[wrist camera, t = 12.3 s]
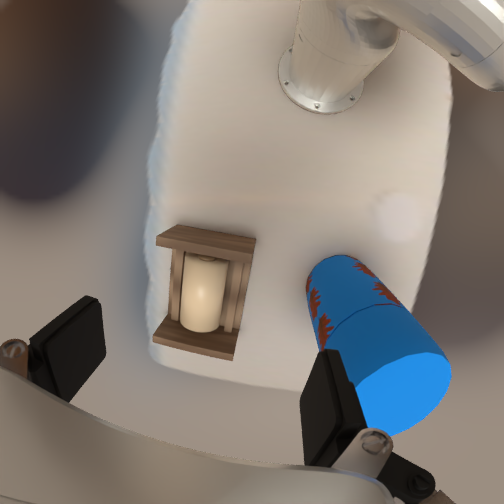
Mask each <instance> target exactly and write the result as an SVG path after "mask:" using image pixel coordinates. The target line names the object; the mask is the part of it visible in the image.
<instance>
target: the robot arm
mask: <svg viewBox="0 0 504 504" xmlns="http://www.w3.org/2000/svg"><path fill="white" fill-rule="evenodd" d="M400 29H402V30H404V31H407V32H409V33H410V34H412V35H413V36H415V37H416V38H418V39H419V40H421V41H422V42H423V43H425V44H426V45H428V46H429V47H430V48H432V49H433V50H434V51H436V52H437V53H438V54H440V55H441V56H442V57H443V58H445V59H446V60H447V61H448V62H450V63H451V64H452V65H453V66H454V67H456V68H457V69H458V70H459V71H460V72H462V73H463V74H464V75H465V76H466V77H468V78H469V79H470V80H471V81H473V82H474V83H476V84H477V85H479V86H481V87H482V88H485V89H487V90H490V91H496V92H502V91H504V0H301V1H300V8H299V14H298V20H297V26H296V32H295V38H294V44H293V45H292V46H291V47H289V48H288V49H287V50H286V51H285V52H284V54H283V55H282V57H281V59H280V62H279V67H278V77H279V81H280V84H281V86H282V88H283V90H284V92H285V93H286V94H287V96H288V97H289V98H290V99H291V100H292V101H293V102H294V103H296V104H297V105H299V106H300V107H302V108H304V109H306V110H308V111H311V112H314V113H318V114H335V113H339V112H342V111H345V110H347V109H348V108H350V107H351V106H353V105H354V104H355V103H356V102H357V101H358V99H359V98H360V96H361V94H362V91H363V87H364V78H365V77H366V76H367V75H368V74H369V73H371V72H372V71H373V70H374V69H375V68H376V67H377V66H378V65H379V64H380V63H381V62H382V61H383V60H384V59H385V58H386V57H387V56H388V55H389V54H390V53H391V52H392V51H393V49H394V48H395V46H396V44H397V42H398V39H399V34H400ZM285 83H288V85H285ZM350 98H351V99H352V101H351V100H350ZM316 106H317V107H318V109H316V108H315V107H316ZM29 340H30V344H29V345H27V344H26V342H24V341H23V340H20V339H10V340H7V341H6V342H4V343H3V344H2V345H1V346H0V504H456V503H454V502H453V501H452V500H451V499H450V498H449V497H448V496H446V494H445V493H443V492H442V491H441V490H439V491H438V492H437V491H436V490H435V480H434V477H433V476H432V474H431V473H429V472H428V471H426V470H425V469H422V468H421V467H419V466H417V465H415V464H413V463H411V462H409V461H408V460H406V459H404V458H402V457H401V456H399V455H397V454H395V453H394V452H392V450H393V441H392V439H391V437H390V436H389V435H388V434H387V433H386V432H384V431H383V430H380V429H378V428H368V426H367V423H366V420H365V417H364V414H363V410H362V407H361V404H360V401H359V398H358V395H357V392H356V389H355V386H354V384H353V382H351V381H349V379H348V376H347V373H346V370H345V367H344V364H343V361H342V358H341V355H340V352H339V350H335V349H326V348H325V349H324V350H323V352H322V351H319V353H318V355H317V357H316V360H315V363H314V365H313V368H312V370H311V373H310V375H309V378H308V380H307V383H306V385H305V388H304V390H303V392H302V395H301V397H300V414H301V425H302V438H303V450H304V464H305V466H303V465H289V464H277V463H268V462H260V461H252V460H244V459H238V458H232V457H226V456H220V455H216V454H211V453H206V452H201V451H197V450H193V449H189V448H185V447H181V446H178V445H174V444H170V443H167V442H164V441H160V440H157V439H154V438H151V437H148V436H145V435H142V434H139V433H136V432H133V431H131V430H128V429H125V428H123V427H120V426H118V425H115V424H113V423H110V422H108V421H106V420H103V419H101V418H98V417H96V416H94V415H92V414H90V413H88V412H86V411H84V410H81V409H80V408H77V407H75V406H74V405H72V404H70V403H69V402H70V401H71V400H72V398H73V397H74V396H75V394H76V393H77V392H78V391H79V389H80V388H81V387H82V385H83V384H84V383H85V382H86V381H87V379H88V378H89V377H90V376H91V374H92V373H93V372H94V371H95V369H96V368H97V367H98V366H99V364H100V363H101V362H102V361H103V360H104V358H105V356H106V346H105V339H104V329H103V320H102V308H101V304H100V303H99V301H98V299H96V298H93V297H90V296H84V297H83V298H81V299H80V300H78V301H77V302H76V303H74V304H73V305H72V306H70V307H69V308H68V309H66V310H65V311H64V312H63V313H61V314H60V315H59V316H57V317H56V318H55V319H53V320H52V321H51V322H50V323H48V324H47V325H46V326H45V327H43V328H42V329H41V330H40V331H38V332H37V333H36V334H35V335H33V336H32V337H31V338H30V339H29Z"/></svg>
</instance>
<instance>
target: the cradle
mask: <svg viewBox="0 0 504 504" xmlns="http://www.w3.org/2000/svg"><path fill="white" fill-rule="evenodd" d="M255 242H256V239H253V238H247V237H242V236H237V235H231V234H226V233H220V232H215V231H210V230H204V229H199V228H193V227H187V226H182V225H176V226H174V227H172V228H170V229H168V230H167V231H165V232H163V233H161V234H159V235H158V236H157V237H156V246H161V247H166V248H171V249H172V261H171V273H170V287H169V304H168V314H167V316H166V317H165V319H164V320H163V321H162V323H161V324H160V326H159V327H158V328H157V330H156V331H155V333H154V334H153V342H155V343H158V344H162V345H165V346H169V347H173V348H177V349H181V350H185V351H189V352H193V353H197V354H201V355H206V356H210V357H215V358H220V359H224V360H229V361H233V356H234V352H235V347H236V342H237V337H238V332H239V327H240V322H241V316H242V311H243V306H244V300H245V295H246V290H247V284H248V279H249V274H250V268H251V263H252V258H253V252H254V247H255ZM189 252H191V253H196V254H201V255H207V256H212V257H217V258H222V259H227V260H229V264H228V270H227V277H226V283H225V290H224V297H223V303H222V310H221V317H220V324H219V327H218V328H217V329H215V330H214V331H211V332H195V331H191V330H189V329H187V328H185V327H184V326H183V325H182V324H181V322H180V309H181V296H182V283H183V272H184V262H185V255H186V254H187V253H189Z"/></svg>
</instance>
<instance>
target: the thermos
mask: <svg viewBox="0 0 504 504" xmlns="http://www.w3.org/2000/svg"><path fill="white" fill-rule="evenodd" d="M306 293H307V300H308V307H309V312H310V316H311V320H312V324H313V328H314V332H315V336H316V340H317V344H318V348H319V351H322V352H323V350H324V349H325V348H326V349H335V350H339V352H340V355H341V358H342V361H343V364H344V367H345V370H346V373H347V376H348V379H349V381H351V382H353V384H354V386H355V389H356V392H357V395H358V398H359V401H360V404H361V407H362V410H363V414H364V417H365V420H366V423H367V426H368V428H378V429H380V430H383V431H384V432H386V433H387V434H388V435H389V436H393V435H395V434H398V433H400V432H402V431H405V430H407V429H409V428H410V427H412V426H414V425H415V424H417V423H418V422H420V421H421V420H423V419H424V418H425V417H426V416H427V415H428V414H429V413H430V412H431V411H432V410H433V409H434V408H435V407H436V406H437V405H438V404H439V402H440V401H441V400H442V398H443V397H444V395H445V393H446V392H447V389H448V387H449V383H450V380H451V369H450V368H451V367H450V363H449V361H448V359H447V358H446V356H445V354H444V352H443V351H442V349H441V348H440V347H439V346H438V345H437V343H436V342H435V341H434V340H433V339H432V337H431V336H430V335H429V334H428V333H427V332H426V330H425V329H424V328H423V327H422V326H421V325H420V324H419V322H418V321H417V320H416V319H415V318H414V317H413V316H412V314H411V313H410V312H409V311H408V310H407V309H406V308H405V307H404V306H403V304H402V303H401V302H400V301H399V300H398V299H397V298H396V297H395V296H394V295H393V294H392V293H391V291H390V290H389V289H388V288H387V287H386V286H385V285H384V284H383V283H382V282H381V281H380V280H379V279H378V278H377V277H376V276H375V275H374V274H373V273H372V272H371V271H370V270H369V269H368V268H367V267H366V266H365V265H364V264H362V263H361V262H360V261H359V260H357V259H355V258H352V257H350V256H347V255H335V256H333V257H330V258H327V259H324V260H323V261H322V262H320V263H319V264H318V265H317V266H315V267H314V269H313V271H312V272H311V274H310V275H309V277H308V281H307V285H306Z"/></svg>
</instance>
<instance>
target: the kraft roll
mask: <svg viewBox="0 0 504 504" xmlns="http://www.w3.org/2000/svg"><path fill="white" fill-rule="evenodd" d="M228 264H229V260H227V259H222V258H217V257H212V256H207V255H201V254H196V253H191V252H189V253H187V254H186V255H185V262H184V272H183V283H182V296H181V309H180V322H181V324H182V325H183V326H184V327H185V328H187V329H189V330H191V331H195V332H211V331H214V330H215V329H217V328H218V327H219V324H220V317H221V310H222V303H223V297H224V290H225V283H226V277H227V270H228Z"/></svg>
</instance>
